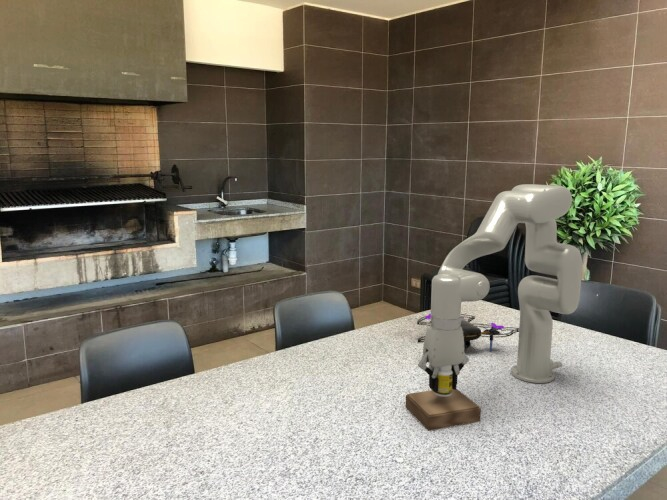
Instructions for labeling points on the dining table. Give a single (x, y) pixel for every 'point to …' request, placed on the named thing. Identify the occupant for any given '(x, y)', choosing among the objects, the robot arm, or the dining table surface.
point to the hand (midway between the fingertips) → (442, 388)
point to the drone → (473, 330)
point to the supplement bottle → (444, 381)
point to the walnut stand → (442, 409)
